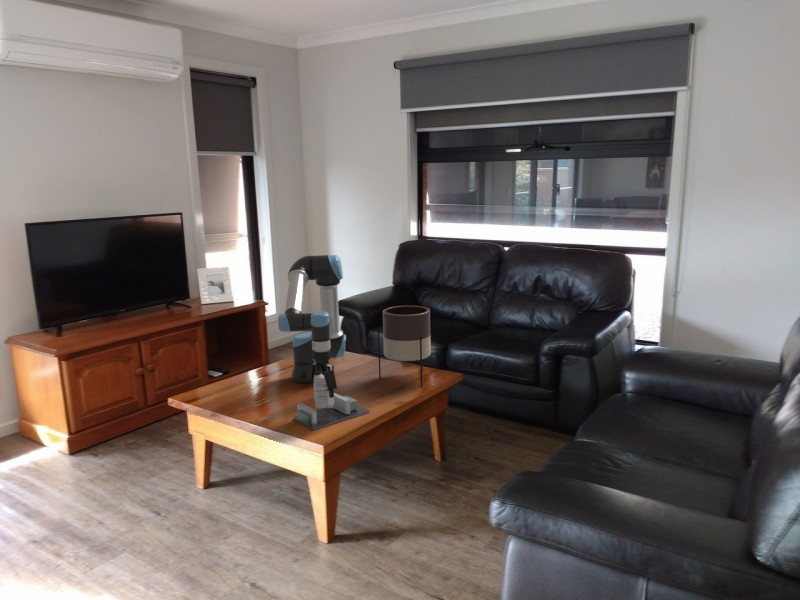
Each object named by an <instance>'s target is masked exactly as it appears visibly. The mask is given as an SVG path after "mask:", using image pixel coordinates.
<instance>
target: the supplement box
mask: <svg viewBox="0 0 800 600" xmlns="http://www.w3.org/2000/svg"><path fill="white" fill-rule="evenodd" d="M327 389H328V387H327V384H326V381H325V378H324V375H322V373H321V374H319V375H314V387H313V393H314V392H315V399H314V405H315V409H322V408H331V407H333V404H332V405H328V402H327Z"/></svg>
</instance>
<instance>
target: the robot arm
mask: <svg viewBox="0 0 800 600" xmlns="http://www.w3.org/2000/svg"><path fill="white" fill-rule="evenodd" d="M343 273H344V272H343V266H342V261H341V258H340V257H339V256H338V255H336V254H335V255H334V254H332V255H331V254H325V255H322V254H321V255H305V256H303V257H300V258H299V259H297V260H296V261H294V263H293V264H292V265H291V266H290V268H289V271H288V274H287V280H288V281H287V282H288V288H287V294H286V301H285V309H284V313H281V314H279V315H278V317H277V322H278V323H277V324H278V329H279V330H278V331H280V332H285V333H286V332H287V333H292V332H303V333H299V334H296V335H295V336H294V337H293V339H292V351H293V354H292V355H293V366H292V367H293V368H292V371H291V375H290V378H291V382H294V383H295V384H296V383H297V384H311V383H312V385H313V388H314V375H319V374H322V375H324V378H325V381H326V384H327V387H328V389H327V402H328V405H332V404H334V393H335V391H334V390H336V389H338V385H337V381H336V376H335V370H334V369H335V367H334V365H333V364H330V361H329V360H331V359H341V358H344V357H345V353H346V341H347V335H346V334H344V331H343V330H342V329H341V328H340V327H341V326H340V312H339V310H340V309H339V297H338V285H339V284H340V283H341V280H342V279H343V278H344V274H343ZM309 281H315V285H316V286H318V287H319V300H320V311H317V312H312V313H311V312H307V313H306V312H305V313H304V312H303V311H304V303H305V294H306V284H307V283H308V282H309ZM313 399H314V400H315V392H314V391H313Z"/></svg>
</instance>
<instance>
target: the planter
mask: <svg viewBox="0 0 800 600" xmlns="http://www.w3.org/2000/svg"><path fill="white" fill-rule="evenodd" d="M382 328H383V331H382V332H383V333H382V334H383V338H382V339H383V354H381V346H380V341H381V340H380V331H379V330H378V331H377V348H378V378H379V380H381V379H382V377H381V373H382V372H381V357H382V358H384V357H385V358H387V359H389V360H393V361H398V362H413V361H415V362H417V363H420V387H421V388H422V387H423V371H424V369H423V364H424V363H423V360H424V359H427V358H428V357H430V356H431V353H432V349H431V347H432V346H431V345H432V344H431V309H430V308H428V307H425V306H421V305H420V306H419V305H397V306H391V307H386V308H385V309H383V310H382Z"/></svg>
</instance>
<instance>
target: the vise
mask: <svg viewBox="0 0 800 600" xmlns="http://www.w3.org/2000/svg"><path fill="white" fill-rule="evenodd" d="M296 406H297V407H296V408H297V415H295V416H293V417H292V418H293V420H294V421H296V422H298V423H300V424H302V425H303V426H305V427H306V428H309V429H310V430H312V431H316V430H319V429H322V428H325V427H329V426H332V425H335V424H337V423H342V422H344V421H348V420H350V419H353V418H357V417H360V416H364V415H366V414H369V413H370V409H367V408H365V407H363V406H361V405H359V404H357V409H356V410H353V411H350V414H344V413H342V412H340V411H338V410H336V409H334V408H332V407H331V408H317V409H314V408H312V407H310V406H309V405H307V404H304V403H302V402H300V403H299V402H298V403H297V404H296Z"/></svg>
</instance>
